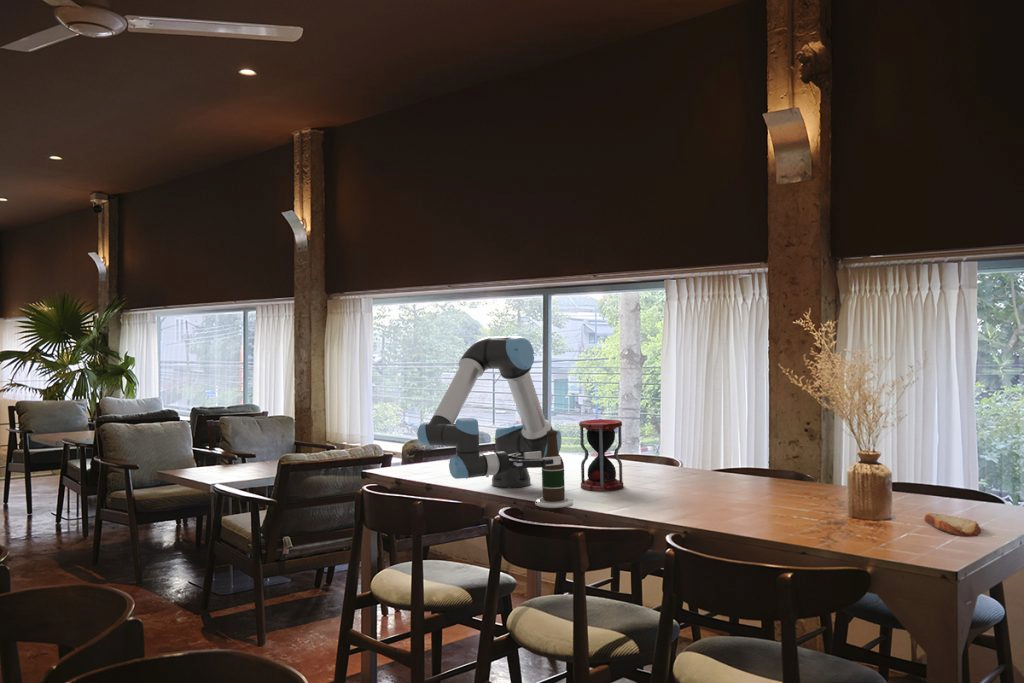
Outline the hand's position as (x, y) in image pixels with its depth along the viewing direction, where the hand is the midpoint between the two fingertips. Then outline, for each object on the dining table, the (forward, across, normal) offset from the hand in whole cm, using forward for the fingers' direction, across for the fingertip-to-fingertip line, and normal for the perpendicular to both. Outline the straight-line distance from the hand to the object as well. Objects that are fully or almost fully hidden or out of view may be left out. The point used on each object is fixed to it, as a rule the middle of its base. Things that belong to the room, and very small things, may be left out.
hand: (550, 457), depth 284 cm
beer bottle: (+1, 0, -15) cm, 15 cm away
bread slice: (+82, +91, -17) cm, 123 cm away
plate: (+1, 0, -16) cm, 16 cm away
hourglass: (+31, -15, -16) cm, 38 cm away
